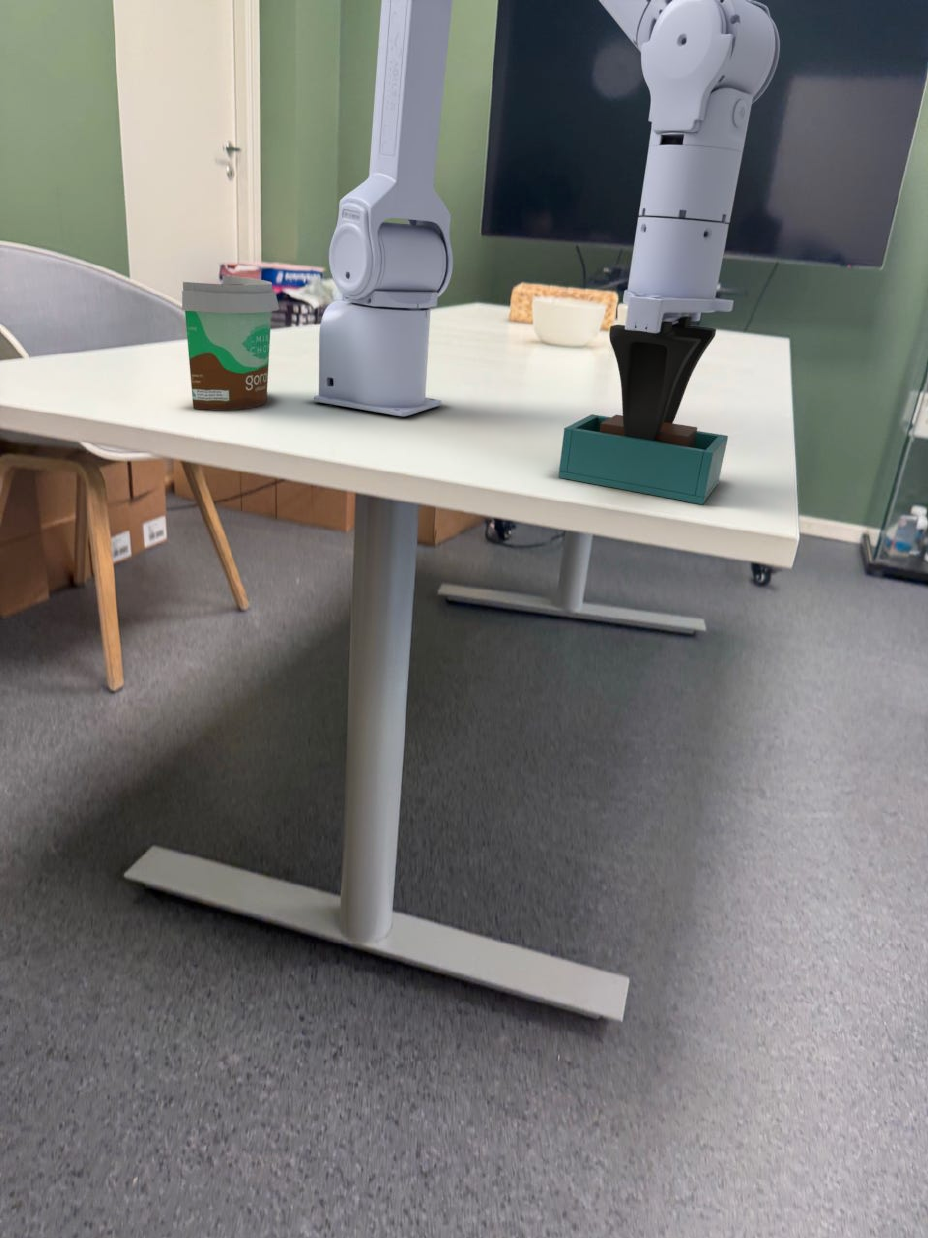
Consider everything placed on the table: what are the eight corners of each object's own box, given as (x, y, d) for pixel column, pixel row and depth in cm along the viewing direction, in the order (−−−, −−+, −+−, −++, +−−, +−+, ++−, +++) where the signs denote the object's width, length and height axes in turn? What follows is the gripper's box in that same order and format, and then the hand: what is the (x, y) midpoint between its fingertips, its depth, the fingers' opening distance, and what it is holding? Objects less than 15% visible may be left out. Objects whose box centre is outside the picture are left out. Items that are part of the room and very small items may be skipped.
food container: (262, 418, 70) (259, 288, 66) (187, 411, 70) (180, 281, 66) (292, 392, 81) (292, 280, 77) (228, 387, 81) (224, 274, 77)
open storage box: (557, 477, 60) (564, 428, 59) (585, 459, 66) (591, 413, 64) (702, 504, 57) (713, 452, 55) (718, 483, 62) (728, 435, 61)
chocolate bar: (596, 451, 60) (600, 422, 59) (611, 441, 63) (615, 414, 62) (681, 465, 58) (687, 436, 57) (692, 454, 61) (697, 427, 60)
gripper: (730, 219, 47) (684, 462, 52) (760, 229, 59) (721, 425, 64) (606, 210, 49) (575, 444, 55) (660, 222, 61) (630, 412, 67)
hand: (647, 433), depth 60 cm, fingers closed on chocolate bar, 4 cm apart
